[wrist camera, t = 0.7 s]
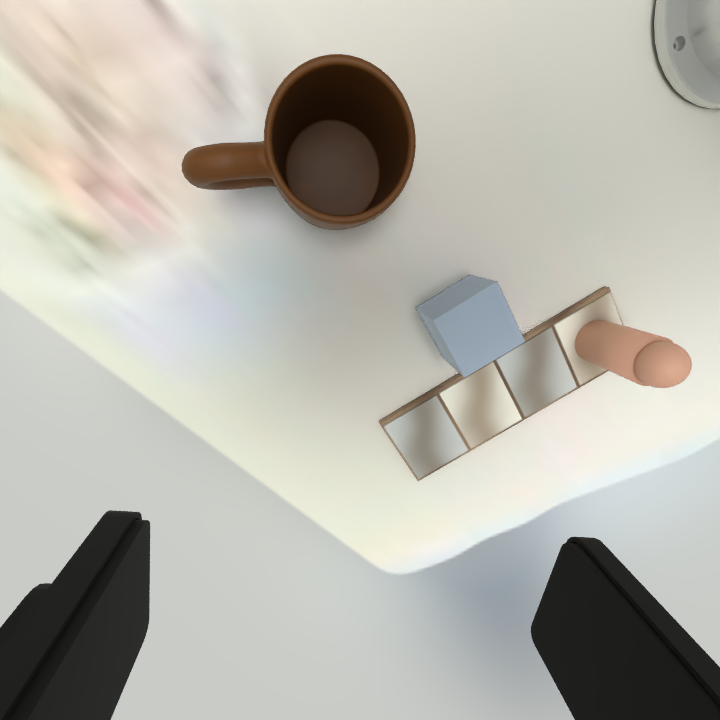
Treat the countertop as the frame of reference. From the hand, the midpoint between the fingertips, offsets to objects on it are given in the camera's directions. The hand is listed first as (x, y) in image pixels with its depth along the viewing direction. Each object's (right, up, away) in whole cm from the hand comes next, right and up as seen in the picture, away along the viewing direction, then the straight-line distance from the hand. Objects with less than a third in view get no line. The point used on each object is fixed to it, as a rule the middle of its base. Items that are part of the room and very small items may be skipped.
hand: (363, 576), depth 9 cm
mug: (-4, +18, +19) cm, 26 cm away
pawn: (+20, +6, +24) cm, 32 cm away
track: (+13, +2, +25) cm, 29 cm away
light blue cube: (+8, +8, +23) cm, 26 cm away
